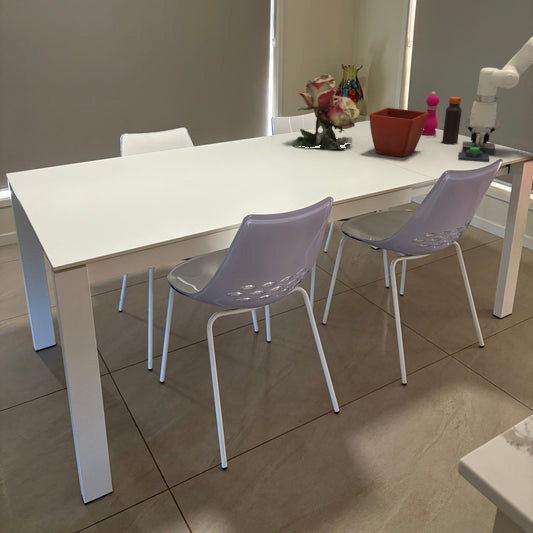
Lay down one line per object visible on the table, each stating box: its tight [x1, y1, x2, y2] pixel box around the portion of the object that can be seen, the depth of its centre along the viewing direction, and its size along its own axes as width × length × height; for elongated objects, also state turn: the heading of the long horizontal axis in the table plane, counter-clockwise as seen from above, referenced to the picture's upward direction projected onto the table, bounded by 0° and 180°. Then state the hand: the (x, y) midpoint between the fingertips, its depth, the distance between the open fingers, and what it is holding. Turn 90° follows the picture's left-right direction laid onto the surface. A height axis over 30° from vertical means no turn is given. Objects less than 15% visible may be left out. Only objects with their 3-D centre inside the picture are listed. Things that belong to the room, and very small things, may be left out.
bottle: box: [441, 96, 463, 145], centre depth 265 cm, size 7×7×20 cm
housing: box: [457, 150, 490, 163], centre depth 244 cm, size 12×9×3 cm
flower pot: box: [369, 107, 428, 158], centre depth 250 cm, size 19×19×17 cm
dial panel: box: [461, 141, 496, 156], centre depth 254 cm, size 13×10×3 cm
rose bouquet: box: [292, 73, 361, 151], centre depth 264 cm, size 26×29×30 cm
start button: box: [470, 147, 479, 153], centre depth 243 cm, size 4×4×2 cm
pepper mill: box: [421, 91, 440, 137], centre depth 281 cm, size 7×7×20 cm
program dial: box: [474, 131, 487, 146], centre depth 252 cm, size 4×4×5 cm
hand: (479, 142), depth 252 cm, fingers closed on program dial, 4 cm apart
